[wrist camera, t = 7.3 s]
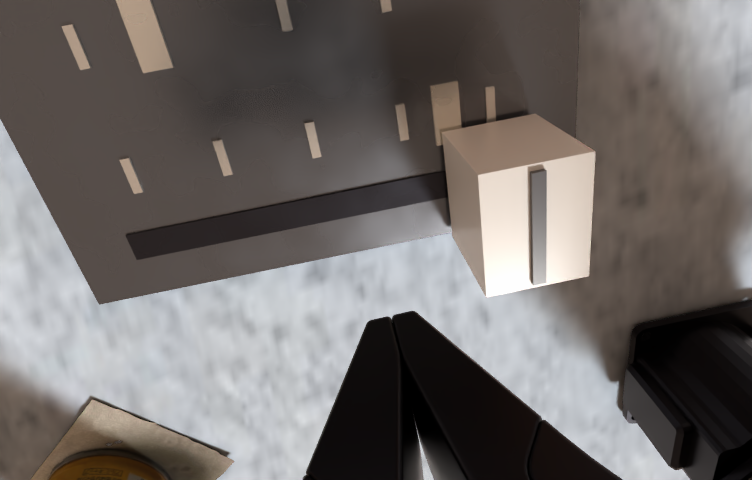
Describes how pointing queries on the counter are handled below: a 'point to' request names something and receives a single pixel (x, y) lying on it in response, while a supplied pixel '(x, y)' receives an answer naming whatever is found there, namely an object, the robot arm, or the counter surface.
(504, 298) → the counter surface
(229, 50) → the mixer panel
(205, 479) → the condiment
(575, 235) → the block
